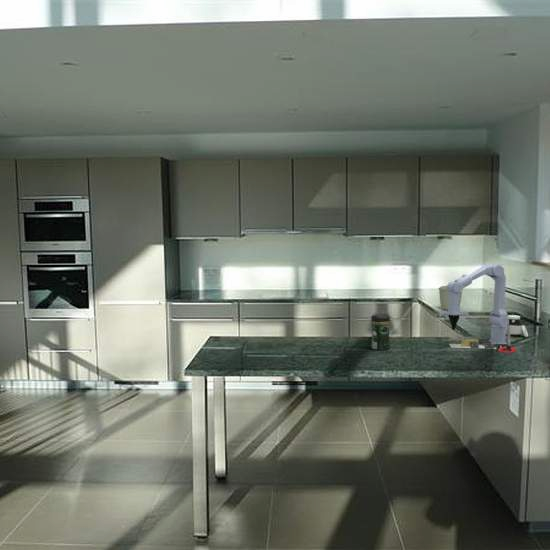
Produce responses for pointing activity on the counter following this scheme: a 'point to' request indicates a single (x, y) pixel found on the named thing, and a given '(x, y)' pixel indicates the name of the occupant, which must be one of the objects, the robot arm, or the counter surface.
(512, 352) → the tow hook
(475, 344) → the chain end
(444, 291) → the canister
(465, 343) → the link
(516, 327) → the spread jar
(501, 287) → the robot arm
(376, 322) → the coffee jar
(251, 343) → the counter surface
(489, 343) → the chain end
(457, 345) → the mat
